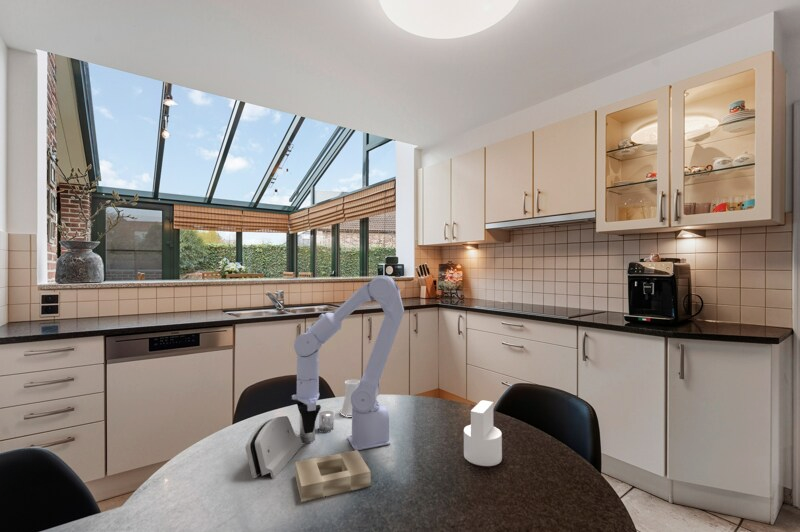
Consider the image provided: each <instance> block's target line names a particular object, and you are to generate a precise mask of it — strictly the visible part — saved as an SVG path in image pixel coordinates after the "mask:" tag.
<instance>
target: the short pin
mask: <svg viewBox="0 0 800 532" xmlns="http://www.w3.org/2000/svg"><path fill="white" fill-rule="evenodd" d="M319 430H320V431H321V432H320V431H319ZM331 430H332V431H333V430H334V411H332V410H323V411H321V412H320V411H319V413H318V431H319V432H320V433H329V432H328V431H330V432H332V431H331Z"/></svg>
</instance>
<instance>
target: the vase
mask: <svg viewBox="0 0 800 532" xmlns="http://www.w3.org/2000/svg"><path fill="white" fill-rule="evenodd" d="M360 381H361V380H358V379H346V380H345V381H344V388H345V393H344V400H343V404H342V407H341V409H340V411H339V412H341V413H342V414H344V415H345V416H346V415H347V416H352V404H351V395H352V393H353V391H354V390H355V389H356V388H357V385H358V383H359V382H360Z"/></svg>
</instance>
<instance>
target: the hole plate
mask: <svg viewBox="0 0 800 532" xmlns="http://www.w3.org/2000/svg"><path fill="white" fill-rule="evenodd" d="M294 464H295V465H294V471H295V472H294V475H295V476H294V477H295V480H296V485H297V489H298V493H299V498H301V499H300V502H301V503H304V502H308V501H307V500H309V501H311V499H313V500H316V499H315V498H317V499H320V498H319V497H321V498H325V496H326V497H330V496H333V495H338V494H343V493H345V492H346V491H347V492H350V491H351V490H352V491H355V490H361V489H364V488H368V487H371V482H372V481H371V472H372V471H371V470H370V467H368V465H367V463H366V461H365V460H364V459H363V457H362V455H361V453H360V452H359V450H351V451H346V452H340V453H334V454H330V455H325V456H319V457H315V458H314V457H313V458H308V459H305V460H304V459H303V460H298V461H295V463H294ZM352 491H351V492H352ZM347 492H346V493H347ZM303 501H304V502H303Z"/></svg>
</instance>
